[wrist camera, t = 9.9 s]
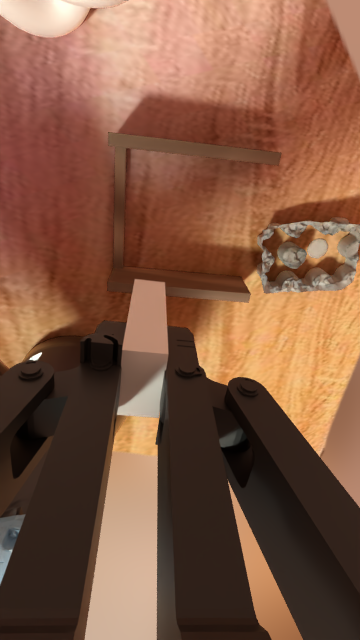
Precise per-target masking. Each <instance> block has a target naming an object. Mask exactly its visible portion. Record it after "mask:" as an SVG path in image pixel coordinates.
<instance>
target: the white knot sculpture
mask: <svg viewBox="0 0 360 640" xmlns="http://www.w3.org/2000/svg"><path fill="white" fill-rule="evenodd" d="M126 1H128V0H0V15H1V16H2V17H4V18H5V19H6V20H8V21H9V22H10V23H12V24H13V25H15V26H16V27H18V28H19V29H21V30H23V31H26V32H28V33H30V34H32V35H36V36H40V37H48V38H55V37H60V36H64V35H67V34H69V33H71V32H73V31H74V30H75V29H77V28H78V27H79V26H80V25H81V24H82V22H83V21H84V20H85V18H86V16H87V14H88V12H89V10H90V8H110V7H115V6H118V5H120V4H123V3H124V2H126Z"/></svg>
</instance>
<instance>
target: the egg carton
mask: <svg viewBox="0 0 360 640" xmlns="http://www.w3.org/2000/svg"><path fill="white" fill-rule="evenodd" d="M307 225H312V226H313V227H314V228H315V229H317V230H318V231H320V232H321V233H323V234H325V235H326V234H330V235H334V234H335V233H338V232H339V231H350V232H349V235H348V236H345V237H343V238H342V239H341V240H340V241H339V243H338V246H337V248H338V252H339V253H340V254H341V255H342V256H344V257H345V258H346V259H345V263H344V264H343V265H341V266H339V267H338V268H337V269H336V270H335V272H334V274H333V275H331V276H330V275H329V274H328V273H326V272H325V271H324V270H323V269H321V268H318V267H316V268H312V269H310V270H309V271H308V272H307V273H306V275H305V277H304V278H300V279H299V278H298V277H297V276H296V275H295V274H294V273H293V272H292V271H288V270H286V271H282V272H281V273H279V274H278V276H277V278H276V280H275V281H270V282H269V281H268V280H267V278H268V277H267V276H266V275H265V273H266V272H269V271H270V266H271V265H272V264H273V263H274V259H275V258H274V257H273V256H272V255H271V253H270V252H269V251H268V250H267V248H266V247H264V246H263V245H262V242H263V240H265V239H268V238H270V237H271V236H272V235H273V233H274V232H273V231H274V229H275V228H279V227H280V228H281V230H282V231H284V232H285V233H286V234H287V235H289V236H292V237H295V238H298V237H300V235H301V233H302V232H303V231H304V230H305V229H306V227H307ZM257 240H258V241H257V243H258V245H259V246H260V247H261V248H262V249H263V251H264V252H263V254H262V261H263V262H262V263H260V264H258V265H257V273H258V274H259V276H260V277H261V280H262V285H263V289H264V293H278V292H283V291H286V292H290V291H294V292H304V291H318V290H323V291H336V290H341V289H343V288H345V287H346V286H348V285H349V284H350V283H352V281H353V280H354V276H355V273H356V265H357V261H358V260H359V255H358V248H359V243H360V224H350V223H349V221H348V220H347V219H346V218H341V217H334V218H331V220H330V222H313V221H311V220H306V221H303V222H296V223H290V224H283V225H280V224H279V223H272V224H269V225H268V228H267V230H263V234H260V235H258V238H257ZM327 249H328V244H327V242H326V241H325V240H324V239H320V238H319V239H316V240H313V241H312V242H311V243H310V244H309V246H308V249H307V251H308V254H309V256H311V257H312V258H320V257H322V256H323V255H324V254H325V253H326V252H327ZM277 255H278V257H279V259H280V260H281V261H282V262H283V263H284V264H285V266H287V267H290V268H293V269H297V268H299V266H300V265H302V264H303V263H304V261H305V259H306V255H307V253H306V251H305V250H304V249H302V248H300V247H299V246H297V245H296V244H295V243H293V242H285V243H283V244H281V245H280V246H279V248H278V251H277Z"/></svg>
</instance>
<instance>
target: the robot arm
mask: <svg viewBox="0 0 360 640" xmlns="http://www.w3.org/2000/svg"><path fill="white" fill-rule="evenodd" d="M159 412H160V418H159ZM127 416H141V417H155V418H159V425H158V431H157V437H156V445H158V513H157V516H158V518H157V529H158V530H157V640H271V638H270V635H269V633H268V632H267V631H266V630H265V629H264V628H263V627H261V626H260V625H259V623H258V620H257V618H256V615H255V611H254V607H253V602H252V597H251V592H250V587H249V582H248V577H247V572H246V568H245V563H244V558H243V553H242V548H241V543H240V539H239V534H238V529H237V524H236V519H235V514H234V509H233V504H232V499H231V495H230V490H229V485H228V481H229V483H230V485H231V488H232V490H233V492H234V494H235V496H236V498H237V500H238V502H239V504H240V507H241V509H242V511H243V513H244V515H245V517H246V519H247V521H248V524H249V526H250V528H251V529H252V532H253V534H254V536H255V538H256V540H257V542H258V545H259V547H260V549H261V551H262V553H263V555H264V557H265V560H266V562H267V564H268V566H269V568H270V570H271V572H272V574H273V577H274V579H275V581H276V583H277V585H278V587H279V589H280V591H281V594H282V596H283V598H284V600H285V602H286V604H287V606H288V608H289V610H290V613H291V615H292V617H293V619H294V621H295V623H296V625H297V627H298V630H299V632H300V634H301V636H302V638H303V640H360V508H359V506H358V505H357V504H356V503H355V501H354V500H353V499H352V497H351V496H350V495H349V494H348V492H347V491H346V490H345V489H344V487H343V486H342V485H341V484H340V482H339V481H338V480H337V479H336V477H335V476H334V475H333V473H332V472H331V471H330V470H329V468H328V467H327V466H326V465H325V463H324V462H323V461H322V460H321V458H320V457H319V456H318V454H317V453H316V452H315V451H314V449H313V448H312V447H311V445H310V444H309V443H308V442H307V440H306V439H305V438H304V437H303V435H302V434H301V433H300V431H299V430H298V429H297V428H296V426H295V425H294V424H293V423H292V421H291V420H290V419H289V418H288V416H287V415H286V414H285V412H284V411H283V410H282V409H281V407H280V406H279V405H278V404H277V402H276V401H275V400H274V399H273V397H272V396H271V395H270V393H269V392H268V391H267V390H266V388H265V387H264V386H262V385H261V384H260V383H259V382H257V381H255V380H253V379H249V378H244V377H238V378H233V379H232V380H230V381H229V383H228V386H227V385H224V384H220V383H217V382H214V381H212V380H210V379H208V378H207V377H206V373H205V371H204V369H203V368H201V367H200V366H199V363H198V358H197V352H196V348H195V343H194V336H193V334H192V333H191V332H190V330H189V329H188V328H182V327H172V326H167V314H166V294H165V282H157V281H148V280H140V279H135V280H134V286H133V291H132V297H131V303H130V308H129V314H128V319H127V323H124V322H114V321H105V320H104V321H103V322H102V323H100V324H99V325H98V326H97V328H96V331H95V333H94V334H89V335H87V336H85V337H80V336H62V337H56V338H52V339H49V340H46V341H44V342H42V343H40V344H39V345H37V346H36V347H34V348H33V349H32V350H31V351H30V352H29V353H28V354H27V355H26V357H25V358H24V360H23V361H22V363H19V364H16V365H15V366H13V367H11V368H10V369H9V368H8V367H7V366H6V365H5V364H4V363H3V362H2V361H1V360H0V640H84V638H85V631H86V625H87V618H88V611H89V605H90V598H91V591H92V584H93V578H94V571H95V564H96V557H97V551H98V544H99V537H100V530H101V524H102V517H103V510H104V503H105V497H106V490H107V483H108V476H109V470H110V463H111V456H112V450H113V443H114V436H115V435H116V433H117V432H118V430H119V428H120V427H121V425H122V424H123V422H124V421H125V419H126V417H127ZM227 479H228V480H227Z"/></svg>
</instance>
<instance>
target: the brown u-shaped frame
mask: <svg viewBox="0 0 360 640" xmlns="http://www.w3.org/2000/svg"><path fill="white" fill-rule="evenodd" d="M108 146H114V147H115V188H114V258H113V270H112V272H111V275H110V277H109V279H108V282H107V291H113V292H125V293H132V291H133V286H134V280H135V279H140V280H148V281H157V282H165V294H166V296H174V297H186V298H198V299H210V300H222V301H235V302H247V303H249V299H250V295H251V294H250V292H249V290H248V288H247V286H246V285H245V283H244V281H243V279H242V277H239V276H228V275H216V274H205V273H194V272H182V271H171V270H160V269H148V268H137V267H126V266H123V261H124V226H125V191H126V156H127V148H131V149H139V150H148V151H157V152H165V153H174V154H182V155H191V156H200V157H208V158H217V159H225V160H234V161H243V162H251V163H260V164H268V165H277V166H279V162H280V158H281V153H279V152H271V151H262V150H254V149H246V148H237V147H229V146H221V145H212V144H204V143H196V142H187V141H179V140H170V139H162V138H154V137H145V136H137V135H129V134H120V133H112V132H108Z"/></svg>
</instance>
